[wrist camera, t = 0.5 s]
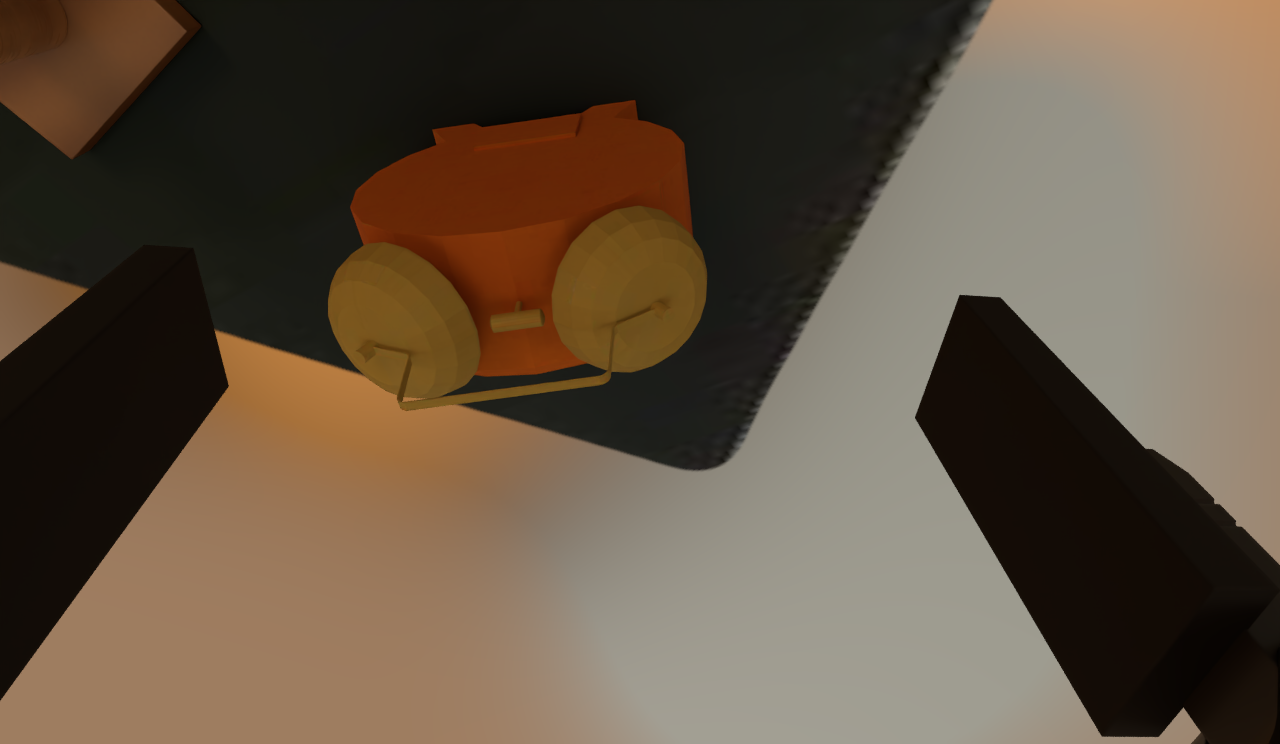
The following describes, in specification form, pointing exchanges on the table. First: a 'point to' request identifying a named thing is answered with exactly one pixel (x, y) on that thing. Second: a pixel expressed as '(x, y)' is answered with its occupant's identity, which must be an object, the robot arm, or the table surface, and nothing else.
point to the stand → (84, 61)
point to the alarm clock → (521, 257)
